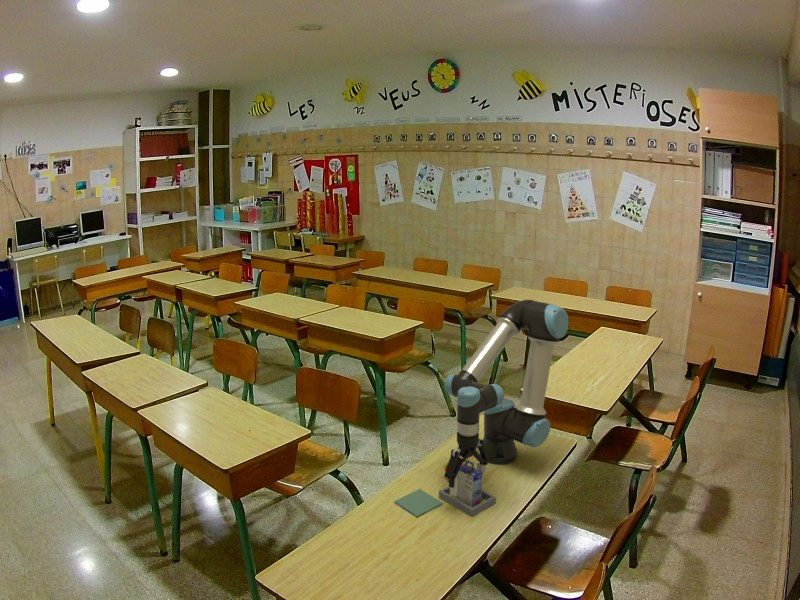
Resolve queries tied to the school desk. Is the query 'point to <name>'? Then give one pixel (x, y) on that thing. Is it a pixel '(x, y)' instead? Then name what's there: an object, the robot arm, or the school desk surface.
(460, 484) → the ink cartridge box
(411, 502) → the mat
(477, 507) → the grey rectangular frame
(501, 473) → the school desk surface
